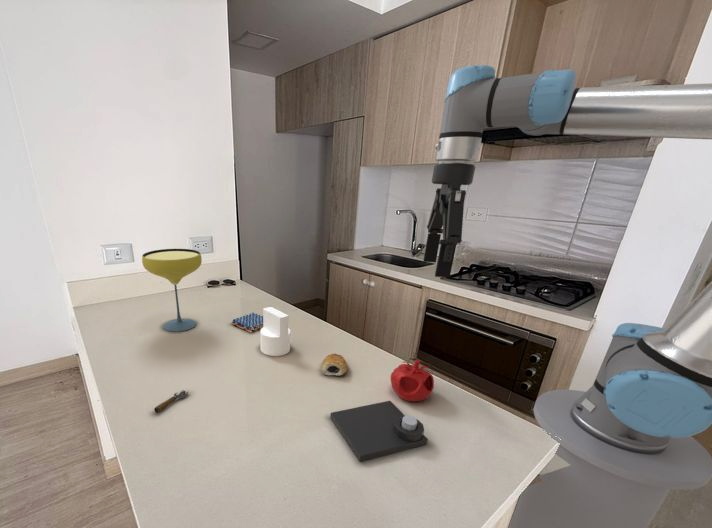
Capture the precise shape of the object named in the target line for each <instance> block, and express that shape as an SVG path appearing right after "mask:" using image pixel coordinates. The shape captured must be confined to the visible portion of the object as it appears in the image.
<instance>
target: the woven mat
mask: <svg viewBox="0 0 712 528" xmlns="http://www.w3.org/2000/svg"><path fill="white" fill-rule="evenodd" d="M231 325H234V326H236V327H238V328H240V329H242V330H245V331H247V332H249V333H251V334H252V333H253V331H256V332H257V331H258V330H259V329H262V328H263V315H261V314H258V313H255V312H252V313H248V314H245V315H243V316H239V317H236V318H233V319H232V320H231Z"/></svg>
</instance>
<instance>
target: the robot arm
mask: <svg viewBox="0 0 712 528" xmlns="http://www.w3.org/2000/svg"><path fill="white" fill-rule="evenodd" d="M495 74H496V69H495V68H494V67H493V66H491V65H488V64H479V65H474V64H473V65H467V66H463V67H460V68H457V69H456V70H454V72H452V74H451V75H450V77H449V80H448V85H447V90H446V94H445V97H444V101H443V111H442V118H441V124H440V131H439V136H438V143H436V144H435V145H434V150H437V151H436V155H435V161H436V162H438V163H437V164H436V163H435V165H433V171H432V177H431V183H432V185H433V184H434V185H441V187H438V188H436V189H435V196H434V201H433V205H432V208H431V211H430V214H429V219H428V222H427V225H426V229H427V238H426V243H425V244H426V245H425V250H424V255H423V262H424V263H436V267H435V272H434V277H435V278H449V279H450V277H451V273H452V267H453V263H454V259H455V254H456V249H457V246H458V244H461V243H462V241H463V240H462V236H463V224H464V223H463V221H464V209H465V208H464V207H465V199H466V195H467V191H466V190H465V189H463V190H462V188H461V187H462V186H470V185H472V184H473V182H474V176H475V172H476V165H475V164H474V162H477V161H478V160H479V153H480V149H481V146H482V145H481V144H482V139H483V132H484V129H485V128H505V127H515V128H516V127H517V128H518V129H519V130H520V131H521V132H522V133H523V134H526V135H528V136H538V137H539V136H543V135H574V136H576V135H577V136H599V137H600V136H601V137H602V136H604V137H632V138H634V137H635V138H659V139H660V138H661V139H662V138H663V139H686V140H687V139H690V140H712V83H711V82H710V83H684V84H682V83H680V84H652V85H651V84H650V85H647V84H646V85H622V86H621V85H618V86H617V85H616V86H590V87H589V86H586V87H576V79H577V73H576V71H575V70H573V69H568V68H567V69H557V70H555V69H548V70H546V71H545V70H544V71H540V72H534V73H527V74H521V75H514V76H507V77H506V76H505V77H496V75H495ZM441 236H442V239H441ZM611 337H612V339H611V341H610V343H609V345H608V349H607V351H606V353H605V355H604V357H603V360H602V362H601V365H600V368H599V370H598V372H597V375H596V377H595V379H594V382H593V383H592V386H590V388H589V389H587V390H586V391H584V392H585V393H584V394H583V395H582V396H581V397H580V398H579V399H578V400H577V401H576V402H575V403H574V404H573V406H572V409H571V411H570V415H571V418H572V419H573V421H574V422H575V423H576V424H577V425H578V426H579V427H580V428H581V429H583V430H584V431H585V432H587V433H588V434H590V435H592V436H593V437H595V438H597V439H599V440H601V441H603V442H605V443H607V444H609V445H612V446H614V447H617V448H620V449H623V450H626V451H630V452H634V453H640V454H650V455H652V454H659V453H662V452H663V451H664V450H665V449H666V447H667V445H668V444H669V441H670V437H672V438H682V437H688V436H691V437H693V436H696V435H698V434H700V433H702V432H704V431H706V430H707V429H709V427H710V426H711V425H712V280H711V281H710V282H709V283H708V284H707V285H706V286H705V287H704V288H703V289H702V291H701V292H699V294H698V295H697V296H695V298H694V299H693V300H692V301H691V302H690V303H689V304H688V306H686V307H685V308H684V309H683V310H682V312H681V313H680V314H679V315H677V317H676V318H675V319H674V320H672V322H671V323H670V324H669V325H668V326H667V327H666V328H664V327H660V326H656V325H648V324H644V323H635V322H625V323H621V324H618V326H617V327H616V329H615V331H614V333H612V334H611Z"/></svg>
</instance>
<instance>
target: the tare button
mask: <svg viewBox="0 0 712 528" xmlns="http://www.w3.org/2000/svg"><path fill="white" fill-rule="evenodd" d="M416 419H417V418H415V417H414V416H411V415H405V416H404V417H403V419H402V424H401V425H402V427H403V428H404V429H406V430H409V431H414V430H415V429H416V426H417V420H418V419H417V420H416Z"/></svg>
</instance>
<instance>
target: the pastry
mask: <svg viewBox="0 0 712 528" xmlns="http://www.w3.org/2000/svg"><path fill="white" fill-rule="evenodd" d="M320 371H321V373H322V374H323V375H324V376H336V377H339V376H343V375H345V374H346V372H347V371H348V363H347V361H346V359H345V358H344V356H343V355H341V354H337V353H330V354H328V355H327V356H325V357H324V359H323V360H322V362H321V369H320Z"/></svg>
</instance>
